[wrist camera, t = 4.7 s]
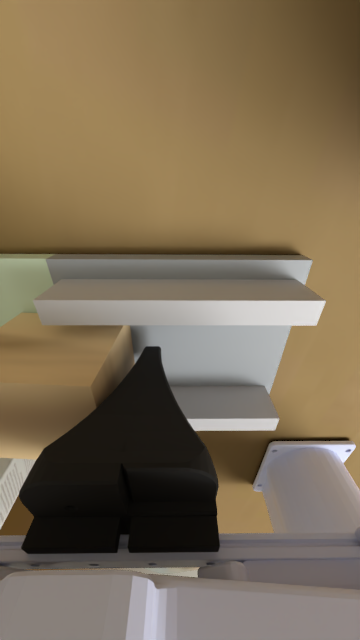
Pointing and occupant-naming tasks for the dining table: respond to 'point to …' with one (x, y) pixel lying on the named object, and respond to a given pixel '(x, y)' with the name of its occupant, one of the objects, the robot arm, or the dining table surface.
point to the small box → (11, 482)
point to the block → (55, 378)
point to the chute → (180, 318)
